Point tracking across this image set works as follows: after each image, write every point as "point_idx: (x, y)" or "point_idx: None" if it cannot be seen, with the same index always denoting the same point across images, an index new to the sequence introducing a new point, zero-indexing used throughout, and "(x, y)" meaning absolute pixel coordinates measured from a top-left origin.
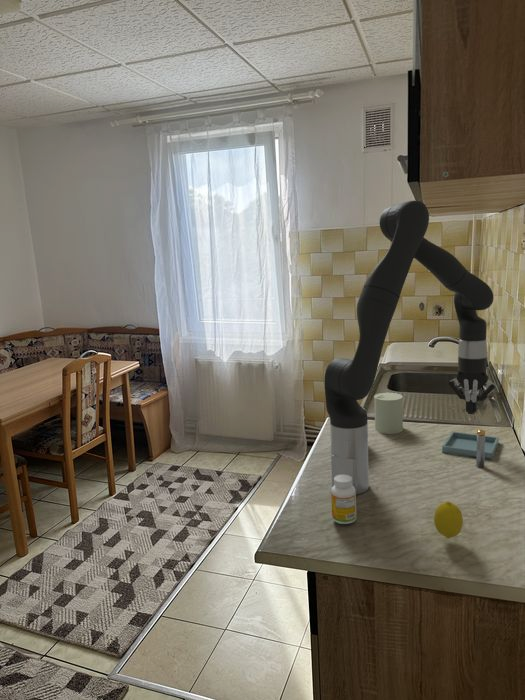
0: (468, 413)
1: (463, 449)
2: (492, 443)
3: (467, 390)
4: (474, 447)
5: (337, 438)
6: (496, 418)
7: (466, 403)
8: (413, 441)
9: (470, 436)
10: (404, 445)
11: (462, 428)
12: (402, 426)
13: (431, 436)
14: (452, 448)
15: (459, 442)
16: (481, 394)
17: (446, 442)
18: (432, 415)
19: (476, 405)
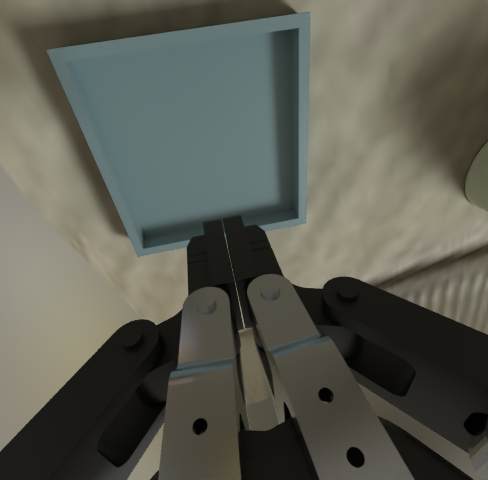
0: (237, 215)
1: (198, 28)
2: (151, 224)
3: (312, 392)
4: (189, 148)
5: None
6: None
7: (274, 268)
8: (430, 93)
9: None
10: (472, 14)
11: None
12: (482, 184)
13: (366, 183)
14: (255, 20)
15: (259, 169)
16: (160, 409)
17: (301, 84)
18: None
19: (189, 283)
